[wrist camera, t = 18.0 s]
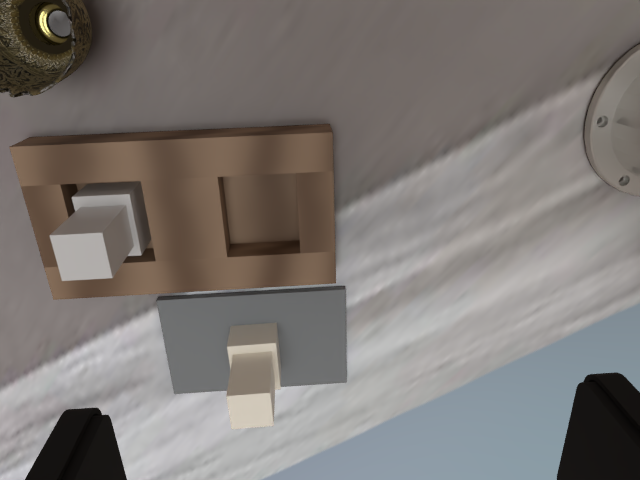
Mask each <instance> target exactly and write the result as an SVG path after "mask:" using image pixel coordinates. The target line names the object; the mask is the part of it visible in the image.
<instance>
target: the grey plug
mask: <svg viewBox="0 0 640 480" xmlns="http://www.w3.org/2000/svg"><path fill="white" fill-rule="evenodd" d="M72 201H73V205H74V209H75V212H74V213H73V214H72V215H71V216H70V217H69V218H68V219H67V220H66V221H65V222H64V223H63V224H61V225H60V226H59V227H58V228H57V229H56V230H55V231H54V232H53V233H52V234H51V235H50V239H51V243H52V246H53V250H54V254H55V257H56V261H57V264H58V268H59V272H60V275H61V279H62V281H71V280H89V279H107V278H113V277H114V275H115V274H116V272H117V271H118V269H119V268H120V266H121V265H122V263H123V262H124V260H125V259H126V257H127V256H139V255H142V254H143V252H144V250H145V249H146V247H147V246H148V244H149V242H150V241H151V234H150V229H149V223H148V218H147V212H146V207H145V202H144V196H143V191H142V186H141V181H139V182H118V183H98V184H87V185H85V186H84V187H83V188H82V189H81V190H79V191H78V192H77V193H76V194H75V195H73V196H72Z"/></svg>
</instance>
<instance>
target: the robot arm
mask: <svg viewBox="0 0 640 480" xmlns="http://www.w3.org/2000/svg"><path fill="white" fill-rule="evenodd" d="M597 120H598V121H597ZM584 140H585V146H586V153H587V155H588V158H589V161H590V163H591V166H592V167H593V168H594V170H595V171H596V173H597V174H598V176H599V177H601V178H602V179H603V180H604V181H605V182H606V183H607V184H609V185H611V186H612V187H614V188H616V189H618V190H620V191H622V192H625V193H628V194H630V195H635V196H640V44H639V45H637V46H636V47H634V48H632V49H631V50H630V51H629V52H627V53H626V54H625V55H624V56H623V57H622V58H621V59H620V60H618V61H617V62H616V63H615V65H614V66H613V67H612V68H611V69H610V71H609V72H608V73H607V74H606V75H605V77H604V78H603V80H602V82H601V83H600V85H599V87H598V88H597V90H596V92H595V94H594V96H593V99H592V101H591V104H590V106H589V109H588V113H587V117H586V122H585V136H584ZM25 480H127V479H126V475H125V471H124V467H123V463H122V460H121V456H120V452H119V448H118V445H117V441H116V437H115V433H114V429H113V426H112V422H111V419H110V417H109V415H102V413H101V411H100V410H99V409H98V408H84V409H69V410H66V411H64V412H63V414H62V415H61V417H60V418H59V420H58V422H57V424H56V426H55V427H54V429H53V431H52V433H51V434H50V436H49V438H48V440H47V441H46V443H45V445H44V447H43V449H42V450H41V452H40V454H39V456H38V457H37V459H36V461H35V463H34V464H33V466H32V468H31V470H30V472H29V473H28V475H27V477H26V479H25ZM557 480H640V392H639V391H638V390H637V389H636V388H635V387H634V386H633V385H632V384H631V383H630V382H629V381H628V380H627V379H626V378H625V377H624V376H623V375H622V374H619V373H603V374H590V375H587V376H586V378H585V380H584V382H582V383H579V384H578V386H577V389H576V394H575V398H574V403H573V407H572V412H571V417H570V421H569V425H568V430H567V434H566V438H565V443H564V447H563V452H562V456H561V461H560V465H559V470H558V474H557Z"/></svg>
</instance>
